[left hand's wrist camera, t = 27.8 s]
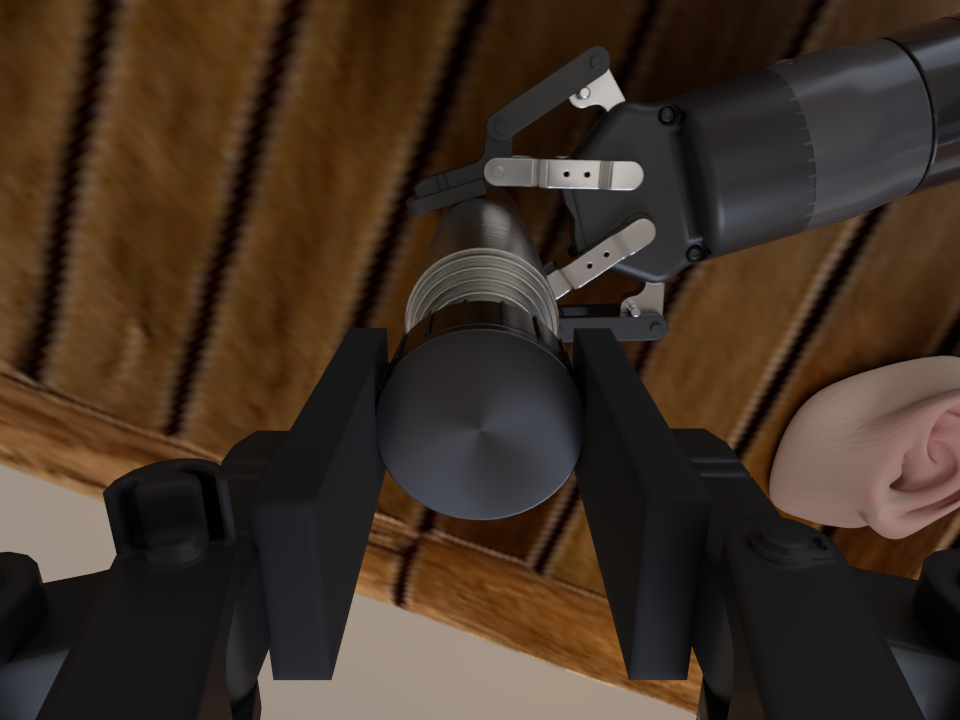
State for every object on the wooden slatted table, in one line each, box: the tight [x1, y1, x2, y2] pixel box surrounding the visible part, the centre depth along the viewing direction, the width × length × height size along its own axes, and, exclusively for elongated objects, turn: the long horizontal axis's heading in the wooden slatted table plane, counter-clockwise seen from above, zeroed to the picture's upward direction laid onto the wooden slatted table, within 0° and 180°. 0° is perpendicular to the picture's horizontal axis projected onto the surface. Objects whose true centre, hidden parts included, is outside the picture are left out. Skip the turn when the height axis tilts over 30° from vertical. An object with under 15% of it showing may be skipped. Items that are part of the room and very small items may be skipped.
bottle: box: [405, 186, 559, 338], centre depth 26 cm, size 4×4×24 cm
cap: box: [375, 299, 585, 520], centre depth 13 cm, size 4×4×2 cm
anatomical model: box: [769, 356, 960, 539], centre depth 40 cm, size 13×4×12 cm
